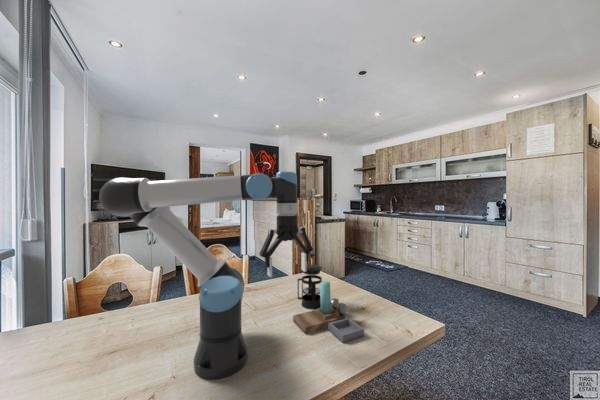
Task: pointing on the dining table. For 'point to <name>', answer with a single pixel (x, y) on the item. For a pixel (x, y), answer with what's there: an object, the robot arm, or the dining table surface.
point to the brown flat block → (315, 320)
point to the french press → (311, 286)
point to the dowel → (325, 298)
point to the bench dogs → (339, 307)
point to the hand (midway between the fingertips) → (287, 273)
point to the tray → (345, 330)
